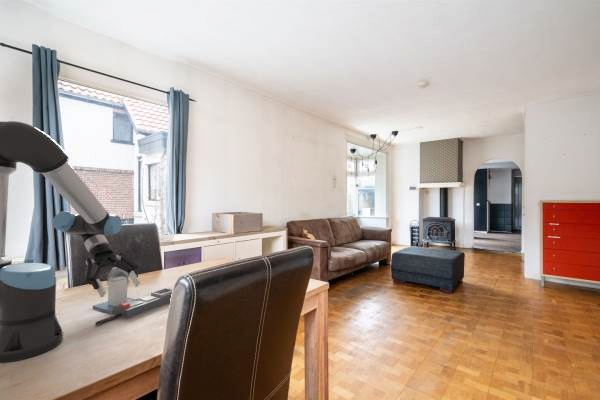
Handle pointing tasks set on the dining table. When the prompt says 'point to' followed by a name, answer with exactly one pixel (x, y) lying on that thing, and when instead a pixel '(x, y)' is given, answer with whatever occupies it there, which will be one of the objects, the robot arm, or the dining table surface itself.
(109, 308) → the mat
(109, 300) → the block
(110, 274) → the stone
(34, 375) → the dining table surface
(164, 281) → the dining table surface
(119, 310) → the power strip
